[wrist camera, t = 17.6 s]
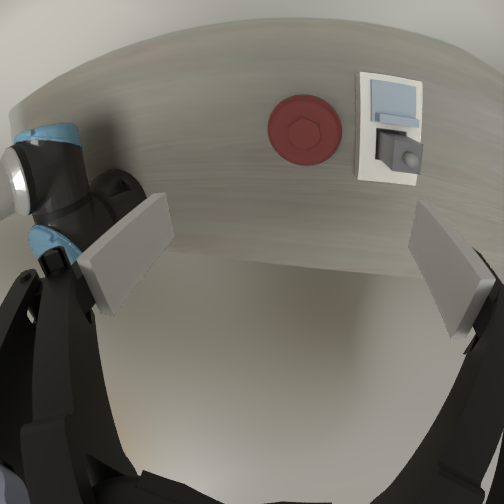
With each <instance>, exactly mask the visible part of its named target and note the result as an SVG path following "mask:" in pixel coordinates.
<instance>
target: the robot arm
mask: <svg viewBox="0 0 504 504" xmlns="http://www.w3.org/2000/svg"><path fill="white" fill-rule="evenodd" d="M14 144H15V145H12V146H10V147H8V148H6V150H5V152H4V154H3V156H2V158H1V160H0V222H1V221H2V220H4V219H5V218H7V217H9V216H10V215H12V214H14V213H16V214H18V215H21V216H23V217H27V216H28V215H30V214H32V215H33V219H34V222H35V225H34V226H32V228H31V230H30V232H29V244H30V247H31V249H32V251H33V253H34V254H35V256H36V258H37V259H38V261H39V263H40V266H41V268H42V270H43V272H44V274H45V278H39V276H38V274H37V272H36V270H35V269H30V270H25V271H24V272H22V273H21V274H20V275H19V276H18V277H17V279H16V280H15V282H14V283H13V285H12V287H11V288H10V290H9V292H8V294H7V296H6V297H5V299H4V301H3V303H2V304H1V306H0V504H224V503H221V502H219V501H216V500H215V499H213V498H211V497H209V496H207V495H204V494H202V493H200V492H198V491H196V490H195V489H193V488H191V487H189V486H187V485H185V484H183V483H180V482H176V481H173V480H170V479H167V478H164V477H161V476H158V475H155V474H153V473H150V472H147V471H144V470H143V471H142V474H141V476H138V475H137V472H136V470H135V468H134V467H133V465H132V464H131V462H130V461H129V459H128V458H127V457H126V455H125V453H124V452H123V449H122V447H121V443H120V440H119V437H118V434H117V430H116V427H115V423H114V420H113V416H112V412H111V409H110V404H109V400H108V396H107V391H106V386H105V382H104V377H103V371H102V366H101V360H100V354H99V348H98V341H97V332H96V324H95V315H94V313H93V311H92V309H91V308H92V307H93V306H94V304H95V303H96V305H97V307H98V309H99V311H100V313H101V314H105V315H110V316H115V315H116V313H117V312H118V310H119V309H120V308H121V306H122V305H123V304H124V302H125V301H126V299H127V298H128V297H129V295H130V294H131V292H132V291H133V290H134V289H135V287H136V286H137V285H138V283H139V282H140V281H141V279H142V278H143V277H144V275H145V274H146V273H147V272H148V270H149V269H150V268H151V266H152V265H153V264H154V263H155V261H156V260H157V259H158V257H159V256H160V255H161V253H162V252H163V251H164V250H165V249H166V247H167V246H168V245H169V244H170V242H171V241H172V240H173V239H174V238H175V236H174V232H173V227H172V222H171V217H170V212H169V207H168V202H167V197H166V193H153V194H152V195H151V196H150V197H148V198H147V199H146V196H145V194H144V191H143V189H142V188H141V186H140V184H139V183H138V182H137V181H136V179H135V178H133V177H132V176H131V175H130V174H128V173H126V172H124V171H122V170H116V169H114V170H109V171H106V172H104V173H102V174H101V175H99V176H98V177H97V178H96V179H95V180H94V181H93V182H92V184H91V185H90V186H89V184H88V179H87V174H86V169H85V164H84V158H83V153H82V148H83V146H82V144H81V142H80V136H79V131H78V128H77V126H76V125H74V124H72V123H59V124H52V125H47V126H42V127H38V128H36V129H32V130H27V131H24V132H21V133H19V134H17V135H16V136H15V140H14ZM408 247H409V249H410V251H411V253H412V255H413V257H414V258H415V260H416V262H417V264H418V266H419V268H420V270H421V272H422V274H423V276H424V278H425V280H426V282H427V284H428V286H429V289H430V291H431V293H432V295H433V297H434V299H435V301H436V304H437V306H438V309H439V311H440V313H441V316H442V318H443V320H444V323H445V325H446V328H447V331H448V333H449V335H450V338H451V339H459V338H466V337H467V335H468V333H469V331H470V330H471V328H472V326H473V328H474V330H475V332H476V334H475V336H474V337H473V339H472V341H471V342H470V344H469V346H468V347H467V349H466V350H465V352H464V353H463V354H466V353H467V354H466V357H465V360H464V362H463V364H462V367H461V369H460V371H459V374H458V376H457V378H456V380H455V383H454V385H453V387H452V389H451V391H450V393H449V395H448V397H447V399H446V401H445V403H444V405H443V407H442V409H441V410H440V412H439V414H438V416H437V418H436V420H435V421H434V423H433V425H432V426H431V428H430V430H429V432H428V433H427V435H426V436H425V438H424V439H423V441H422V442H421V444H420V445H419V447H418V449H417V450H416V451H415V453H414V454H413V456H412V458H411V459H410V460H409V461H408V463H407V464H406V466H405V467H404V468H403V470H402V471H401V472H400V473H399V475H398V476H397V477H396V479H395V480H394V481H393V482H392V484H391V485H390V486H389V487H388V488H387V489H386V490H385V491H384V492H383V493H381V494H380V495H379V496H377V497H376V498H375V499H374V500H373V501H372V502H371V503H370V504H482V503H483V501H484V498H485V491H484V490H483V489H482V488H481V482H482V479H483V477H484V475H485V473H486V471H487V469H488V466H489V464H490V462H491V460H492V457H493V455H494V453H495V450H496V448H497V445H498V442H499V440H500V437H501V434H502V432H503V437H502V443H501V448H500V453H499V458H498V463H497V467H496V471H495V475H494V478H493V482H492V485H491V488H490V492H489V495H488V498H487V501H486V504H504V431H503V429H504V285H503V284H502V282H501V281H500V279H499V278H498V277H497V275H496V274H495V272H494V271H493V270H492V268H490V266H489V264H488V263H487V262H486V260H485V259H484V258H483V256H482V255H481V254H480V253H479V252H478V251H476V250H475V249H474V248H473V247H471V245H470V244H469V243H468V242H467V240H466V239H465V238H464V237H463V236H462V235H461V233H460V232H459V231H458V230H457V229H456V228H455V226H454V225H453V224H452V223H451V222H450V221H449V220H448V219H447V218H446V216H445V215H444V214H443V213H442V212H441V211H440V210H439V209H438V208H437V207H436V206H435V205H434V204H433V203H432V202H431V201H430V200H422V199H418V200H417V206H416V211H415V217H414V222H413V227H412V231H411V236H410V240H409V245H408ZM27 310H29V312H30V313H31V315H32V316H33V318H34V321H33V323H31V322H30V320H29V318H28V317H27ZM91 486H92V487H91ZM267 504H332V503H301V502H275V503H267Z"/></svg>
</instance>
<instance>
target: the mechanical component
mask: <svg viewBox="0 0 504 504" xmlns="http://www.w3.org/2000/svg"><path fill="white" fill-rule="evenodd" d="M268 136H269V139H270V142H271V144H272V146H273V148H274V149H275V151H276V152H277V153H278V154H279V155H280V156H281V157H283V158H284V159H286V160H287V161H289V162H291V163H294V164H297V165H306V166H308V165H315V164H319V163H321V162H323V161H325V160H327V159H328V158H330V157H331V156H332V155H333V154H334V153H335V151H336V150H337V148H338V146H339V144H340V141H341V137H342V126H341V122H340V119H339V117H338V115H337V113H336V112H335V110H334V109H333V108H332V107H331V106H330V105H329V104H328V103H327V102H325V101H324V100H322V99H320V98H318V97H315V96H311V95H295V96H291V97H289V98H287V99H285V100H283V101H282V102H280V103H279V104H278V105H277V106H276V107H275V108H274V110H273V111H272V113H271V115H270V118H269V121H268Z"/></svg>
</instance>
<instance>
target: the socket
mask: <svg viewBox="0 0 504 504" xmlns="http://www.w3.org/2000/svg"><path fill="white" fill-rule="evenodd" d="M371 79H373V80H381V81H387V82H394V83H399V84H405V85H410V86H415V87H416V119H418V120H420V121H419V128H416V127H410V126H404V125H397V124H390V123H382V122H374V121H371V82H370V80H371ZM421 126H422V82H420V81H415V80H410V79H405V78H400V77H394V76H388V75H381V74H374V73H366V72H358V73H356V149H355V170H354V173H355V175H356V177H357V179H358V180H367V181H378V182H388V183H398V184H407V185H415V186H416V179H417V174H412V173H404V172H396V171H392V170H391V169H390V168H389V167H388V166H387V165H386V164H385V163H384V162H383V161H381V160H380V159H379V158H378V157H377V156H376V155H375V150H376V129H380V130H388V131H396V132H398V133H401V134H403V135H405V136H407V137H409V138H411V139H413V140H415V141H417V142H419V143H420V142H421Z"/></svg>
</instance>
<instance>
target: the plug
mask: <svg viewBox="0 0 504 504" xmlns="http://www.w3.org/2000/svg"><path fill="white" fill-rule="evenodd" d="M422 152H423V144H421V143H419V142H417V141H415V140H413V139H411V138H409V137H407V136H405V135H403V134H401V133H398V132H396V131H388V130H380V129H376V150H375V155H376V156H377V157H378V158H379V159H380V160H381V161H383V162H384V163H385V164H386V165H387V166H388V167H389V168H390V169H391V170H392V171H396V172H404V173H412V174H419V175H420V171H421V162H422Z"/></svg>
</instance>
